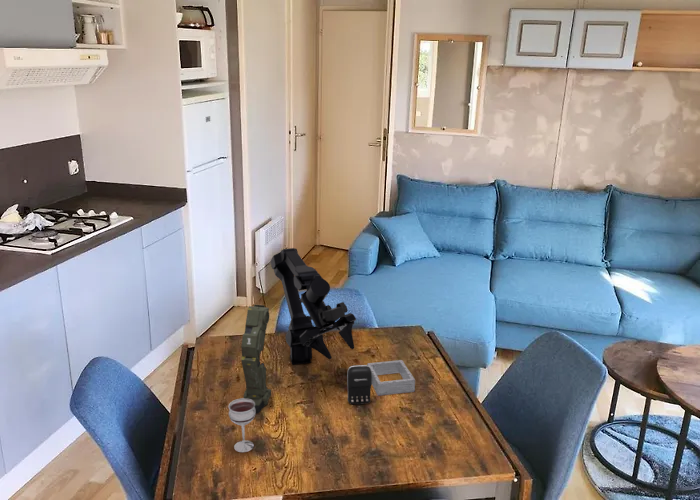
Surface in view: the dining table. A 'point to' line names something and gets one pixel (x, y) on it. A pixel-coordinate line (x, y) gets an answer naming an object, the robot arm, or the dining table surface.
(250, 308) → the mechanical leg
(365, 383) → the battery charger
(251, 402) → the wineglass
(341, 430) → the dining table surface
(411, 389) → the hollow square metal frame
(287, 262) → the robot arm
